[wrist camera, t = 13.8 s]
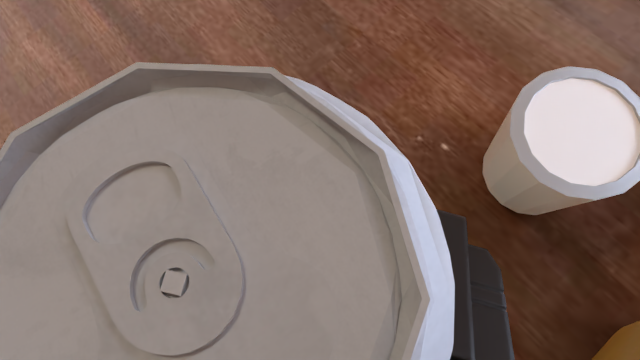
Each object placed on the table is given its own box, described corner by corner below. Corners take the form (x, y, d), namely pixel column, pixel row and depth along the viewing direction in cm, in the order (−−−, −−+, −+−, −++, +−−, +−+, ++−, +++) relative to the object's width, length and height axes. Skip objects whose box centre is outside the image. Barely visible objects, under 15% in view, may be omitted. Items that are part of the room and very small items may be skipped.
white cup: (595, 138, 30) (669, 88, 23) (572, 241, 28) (644, 219, 21) (487, 106, 31) (528, 48, 24) (459, 204, 29) (494, 171, 22)
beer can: (275, 418, 14) (-5, 854, 3) (202, 283, 16) (-204, 195, 4) (406, 330, 15) (627, 388, 3) (325, 206, 16) (279, -70, 5)
